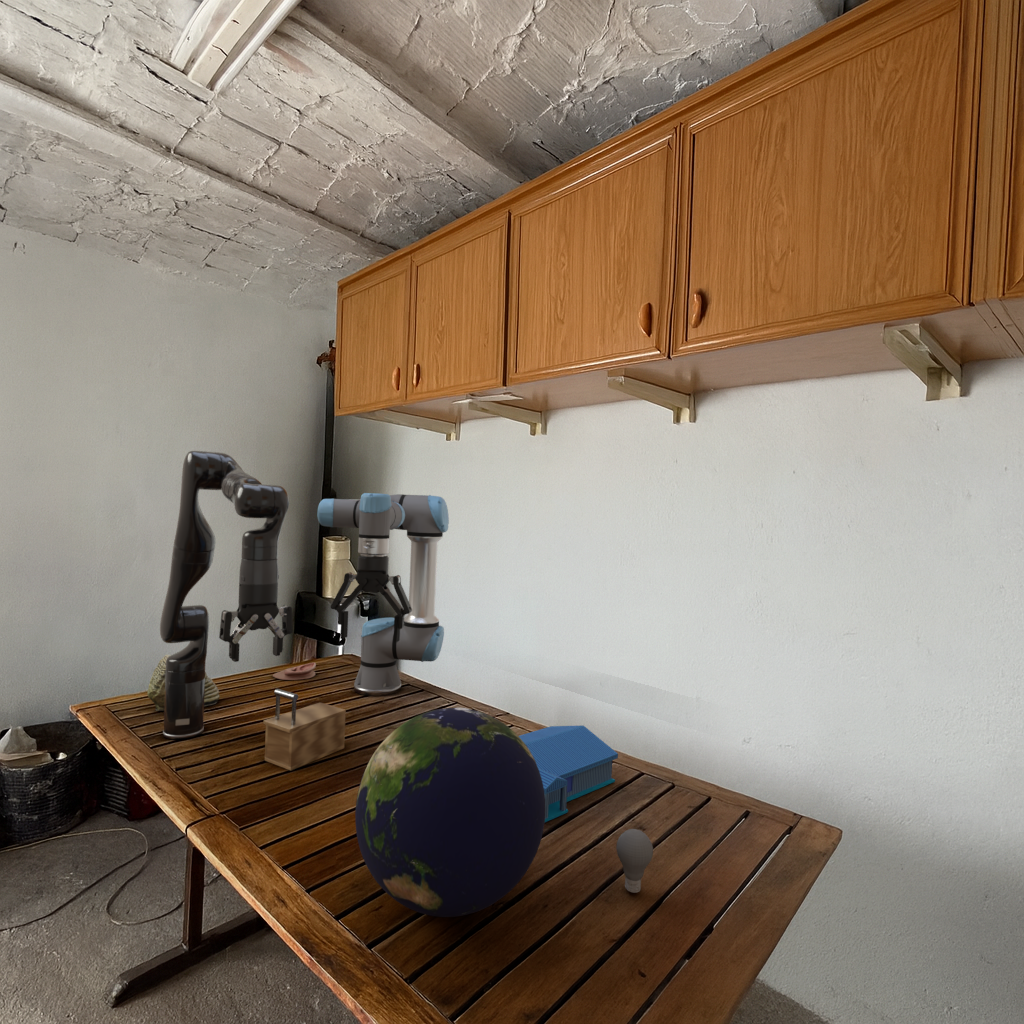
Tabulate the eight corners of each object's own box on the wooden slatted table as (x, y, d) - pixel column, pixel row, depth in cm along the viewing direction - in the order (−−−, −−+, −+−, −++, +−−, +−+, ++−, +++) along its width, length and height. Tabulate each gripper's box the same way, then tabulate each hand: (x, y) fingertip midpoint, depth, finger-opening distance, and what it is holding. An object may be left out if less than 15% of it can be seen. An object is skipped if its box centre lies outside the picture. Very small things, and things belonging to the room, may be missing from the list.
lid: (289, 733, 145) (290, 698, 145) (263, 724, 150) (264, 690, 150) (345, 713, 160) (346, 681, 159) (320, 705, 164) (321, 674, 164)
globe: (309, 928, 93) (317, 725, 93) (415, 832, 121) (421, 676, 120) (495, 996, 82) (506, 766, 81) (565, 873, 110) (572, 701, 109)
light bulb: (610, 879, 108) (613, 822, 108) (644, 879, 109) (647, 822, 109) (619, 902, 102) (622, 840, 102) (655, 901, 103) (658, 840, 103)
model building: (497, 843, 118) (499, 790, 118) (422, 794, 136) (424, 748, 136) (626, 786, 145) (628, 743, 144) (549, 751, 163) (551, 713, 163)
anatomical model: (267, 666, 215) (286, 658, 227) (267, 678, 215) (286, 669, 227) (303, 670, 213) (320, 662, 224) (303, 682, 213) (320, 673, 224)
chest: (290, 770, 146) (292, 732, 145) (264, 760, 150) (265, 723, 150) (344, 748, 160) (345, 713, 160) (318, 739, 165) (320, 705, 164)
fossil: (144, 707, 182) (145, 655, 182) (212, 696, 194) (213, 647, 194) (151, 716, 175) (153, 662, 175) (221, 703, 188) (223, 653, 188)
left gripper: (284, 576, 139) (281, 650, 139) (216, 580, 129) (213, 659, 130) (299, 580, 134) (296, 657, 134) (230, 584, 124) (227, 667, 124)
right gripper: (319, 553, 156) (316, 639, 156) (418, 559, 153) (414, 646, 153) (331, 551, 163) (328, 633, 163) (426, 556, 160) (422, 639, 161)
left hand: (256, 658), depth 132 cm, fingers open, 8 cm apart
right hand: (370, 639), depth 158 cm, fingers open, 13 cm apart
